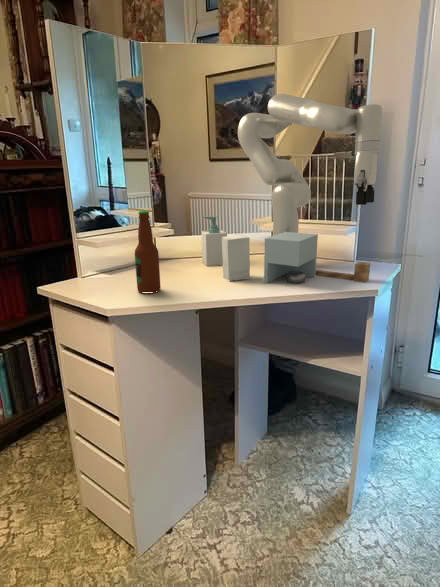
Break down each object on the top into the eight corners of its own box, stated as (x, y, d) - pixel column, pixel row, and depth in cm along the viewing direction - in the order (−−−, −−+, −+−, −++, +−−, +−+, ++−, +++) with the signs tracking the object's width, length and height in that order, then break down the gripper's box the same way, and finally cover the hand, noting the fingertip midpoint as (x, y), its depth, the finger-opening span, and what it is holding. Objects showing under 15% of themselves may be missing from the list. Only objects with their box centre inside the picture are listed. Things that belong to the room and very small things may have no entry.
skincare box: (243, 275, 146) (243, 234, 142) (250, 279, 141) (250, 236, 137) (221, 277, 144) (221, 235, 139) (228, 282, 138) (227, 238, 134)
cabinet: (264, 282, 136) (264, 238, 132) (284, 272, 149) (285, 231, 145) (297, 287, 130) (299, 241, 126) (315, 276, 143) (317, 234, 138)
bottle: (147, 286, 134) (142, 209, 127) (165, 289, 130) (160, 210, 123) (132, 292, 128) (126, 212, 121) (150, 295, 124) (145, 213, 117)
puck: (284, 282, 137) (284, 274, 136) (291, 278, 142) (291, 270, 141) (300, 285, 134) (301, 276, 133) (307, 281, 138) (308, 272, 137)
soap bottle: (201, 261, 169) (200, 215, 163) (222, 260, 171) (221, 214, 165) (206, 266, 161) (204, 217, 155) (227, 264, 163) (227, 216, 157)
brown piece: (311, 275, 145) (311, 259, 143) (315, 273, 148) (316, 257, 146) (365, 282, 135) (367, 265, 133) (368, 280, 138) (370, 262, 136)
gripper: (362, 150, 137) (360, 201, 141) (347, 148, 123) (345, 205, 127) (385, 148, 133) (382, 201, 137) (373, 145, 119) (370, 205, 123)
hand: (365, 203), depth 132 cm, fingers open, 9 cm apart
